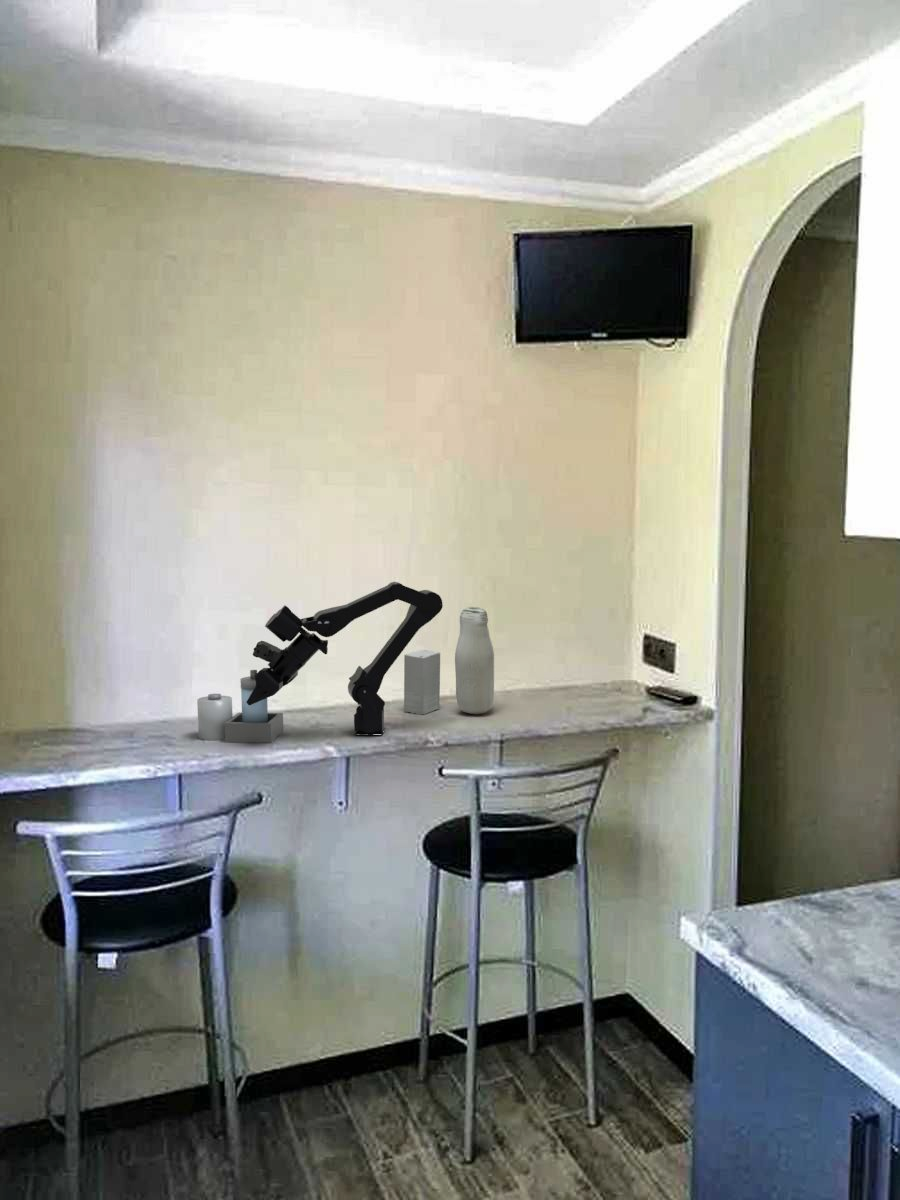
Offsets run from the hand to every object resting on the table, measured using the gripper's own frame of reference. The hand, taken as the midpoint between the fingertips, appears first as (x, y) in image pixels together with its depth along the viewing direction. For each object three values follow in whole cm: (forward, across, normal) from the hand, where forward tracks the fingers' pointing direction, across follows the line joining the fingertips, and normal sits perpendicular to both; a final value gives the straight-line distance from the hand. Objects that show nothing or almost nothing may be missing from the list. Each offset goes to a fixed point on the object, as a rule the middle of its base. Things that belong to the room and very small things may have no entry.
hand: (253, 699), depth 225 cm
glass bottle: (-29, -27, +43) cm, 58 cm away
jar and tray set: (+8, 0, +4) cm, 9 cm away
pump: (+6, 0, +6) cm, 8 cm away
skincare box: (-20, -29, +33) cm, 48 cm away
